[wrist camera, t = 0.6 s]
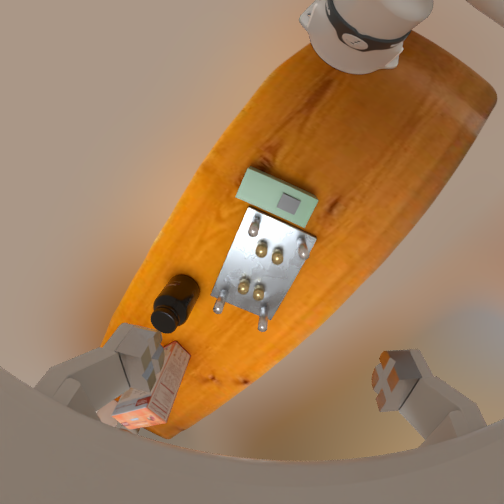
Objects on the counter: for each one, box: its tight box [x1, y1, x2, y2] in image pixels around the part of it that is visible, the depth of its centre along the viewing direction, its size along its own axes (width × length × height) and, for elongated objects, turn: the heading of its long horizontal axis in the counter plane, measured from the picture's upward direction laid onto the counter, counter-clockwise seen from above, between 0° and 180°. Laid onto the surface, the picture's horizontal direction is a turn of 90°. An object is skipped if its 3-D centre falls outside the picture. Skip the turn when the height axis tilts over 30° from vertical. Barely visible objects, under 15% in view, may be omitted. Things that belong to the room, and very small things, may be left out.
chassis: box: [211, 206, 317, 332], centre depth 48 cm, size 19×13×7 cm
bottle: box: [97, 400, 118, 427], centre depth 63 cm, size 8×8×30 cm
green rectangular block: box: [236, 166, 318, 228], centre depth 44 cm, size 12×5×5 cm, turn 67°
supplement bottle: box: [151, 275, 199, 333], centre depth 49 cm, size 7×7×12 cm
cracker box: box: [111, 341, 191, 430], centre depth 53 cm, size 14×6×21 cm, turn 126°
